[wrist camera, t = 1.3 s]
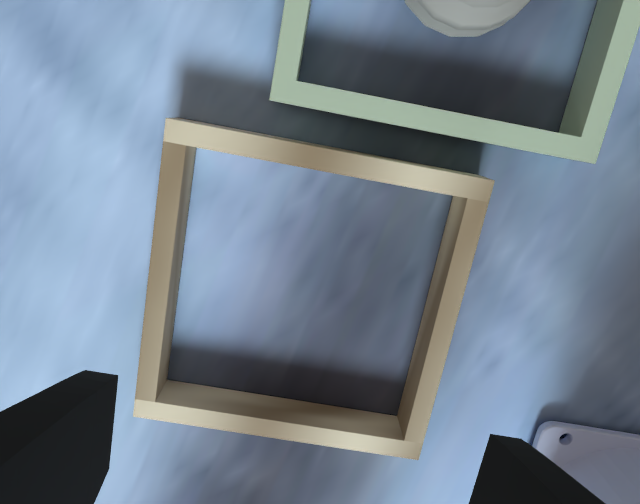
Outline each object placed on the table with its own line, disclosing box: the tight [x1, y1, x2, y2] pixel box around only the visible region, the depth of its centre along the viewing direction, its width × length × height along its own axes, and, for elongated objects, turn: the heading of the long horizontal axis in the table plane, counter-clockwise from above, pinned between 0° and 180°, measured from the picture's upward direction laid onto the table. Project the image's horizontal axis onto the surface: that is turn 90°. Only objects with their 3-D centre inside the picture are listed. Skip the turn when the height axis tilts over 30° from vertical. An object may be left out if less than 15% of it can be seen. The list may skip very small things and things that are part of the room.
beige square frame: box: [133, 118, 494, 460], centre depth 18 cm, size 10×10×2 cm
